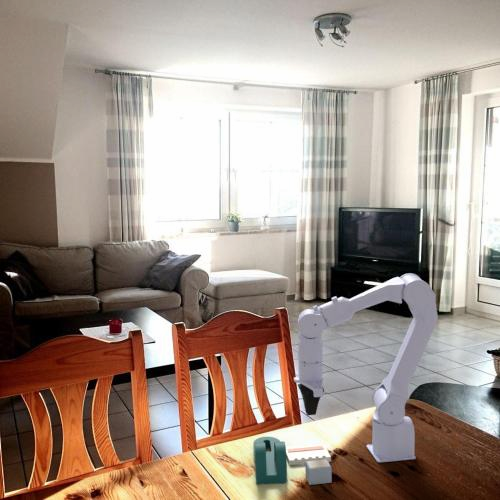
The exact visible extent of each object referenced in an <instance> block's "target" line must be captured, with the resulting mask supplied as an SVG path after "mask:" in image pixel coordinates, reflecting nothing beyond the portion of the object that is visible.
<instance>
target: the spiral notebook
mask: <svg viewBox="0 0 500 500" xmlns="http://www.w3.org/2000/svg"><path fill="white" fill-rule="evenodd" d="M286 457H287V464H289V466H294V465H295V466H297V465H306V464H305V461H313V460H324V459H327V460H328V462H329V463H330V462H332V456H331V454H330V453H329V451H328V449H327V448H326V445H325V444H315V445H313V444H312V445H303V446H302V445H301V446H292V447H286Z"/></svg>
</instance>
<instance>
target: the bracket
mask: <svg viewBox="0 0 500 500" xmlns="http://www.w3.org/2000/svg"><path fill="white" fill-rule="evenodd" d="M285 442H286V441H281V440H280V439H278V437H274V436H261V437H258V438H255V440H254V441H253V443H252V444H253V460H254V470H255V472H254V473H255V481H256V486H257V485H259V486H260V485H277V484H287V483H288V460H287V457H286V448H287V447H286V443H285ZM266 448H268V449H270V451H266V450H267V449H266Z"/></svg>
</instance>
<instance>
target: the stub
mask: <svg viewBox="0 0 500 500" xmlns="http://www.w3.org/2000/svg"><path fill="white" fill-rule="evenodd" d="M304 465H305V478H306V481H307V482H308V485H309V486H311V485H319V484H321V485H322V484H329V483H332V472H333V471H332V470H333V469H332V466H331V464H330V461H329V462H328V460H327V459H324V460H313V461H305V464H304Z"/></svg>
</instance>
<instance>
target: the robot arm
mask: <svg viewBox="0 0 500 500" xmlns="http://www.w3.org/2000/svg"><path fill="white" fill-rule="evenodd" d="M436 296H437V295H436V294H435V292H434V291H433V289H432V288H431V286H430V285H429V283H428V282H426V281H424V280H422V279H421V278H420V276H419V275H417V274H416V273H412V272H411V273H410V272H409V273H405V274H403V275H401V276H400V277H399V276H396V277H393V278H391V279H389V280H386V281H384V282H382V283H380V284H379V285H376V286H374V287H372V288H369V289H367V290H365V291H364V292H361V293H359V294H357V295H355V296H353V297H351V298H347V297H344V296H340V297H337V295H336V296H333V297H331V301H328V302H326V303H323V304H321V305H314V306H312V309H311V308H308V309H304V310H302V311H301V312H300V314H299V316H298V319H297V326H298V327H297V328H298V330H299V331H298V332H299V333H298V339H299V340H298V349H297V350H298V351H297V352H298V353H297V354H298V376H295V377H293V381H294V383H296V384H297V387H298V389H299V391H300V394H301V396H302V401H303V406H304V410H305V413H306V415H307V416H316V414H317V412H318V411H317V410H318V406H319V401H320V400H321V398H323V396H324V392H325V388H324V387H323V385H324V376H323V340H322V334H323V332H324V330H329V329H331V328H334V327H336V326H338V325H340V324H344V323H345V322H348V321H350V320H352V319H353V316H354V315H355V313H356V312H358V311H362V310H364V309H367V308H370V307H372V306H375V305H378V304H381V303H384V302H386V301H389V302H393V303H396V304H402V303H403V301H404V302H406V304H407V306H408V309H409V311H410V312H411V314H412V317H413V318H412V320H411V323H409V326H408V329H407V331H406V334H405V335H404V336H405V337H404V338H403V341H402V343H401V345H400V347H399V350H398V352H397V354H396V356H395V359H394V361H393V364H392V365H391V369H390V371H389V373H388V375H387V376H386V377H384V378H383V379H382V381H381V383H380V385H379V386H377V387H376V388H375V389H374V390H373V392H372V395H371V399H372V403H373V404H374V406H375V410H374V412H373V413H372V432H371V433H372V435H371V436H372V439H371V442H372V444H367V445H365V446H366V448H367V450H368V451H369V452H370V454H371V455H372V456H373V458H374V460H375V461H376V462H377V463H387V462H398V461H408V460H410V461H411V460H416V455H415V436H416V435H415V433H416V432H415V427H414V424H413V423H414V422H413V420H412V418H410V417H409V416H408V415H407V416H406V409H405V408H406V404H407V401H408V390H409V386H410V384H411V382H412V380H413V377H414V374H415V372H416V370H417V368H418V366H419V363H420V361H421V359H422V358H423V354H424V352H425V350H426V347H427V346H428V343H429V341H430V339H431V337H432V334H433V332H434V330H435V328H436V325H437V323H438V320H439V318H438V317H439V316H438V310H437V305H436Z"/></svg>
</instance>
